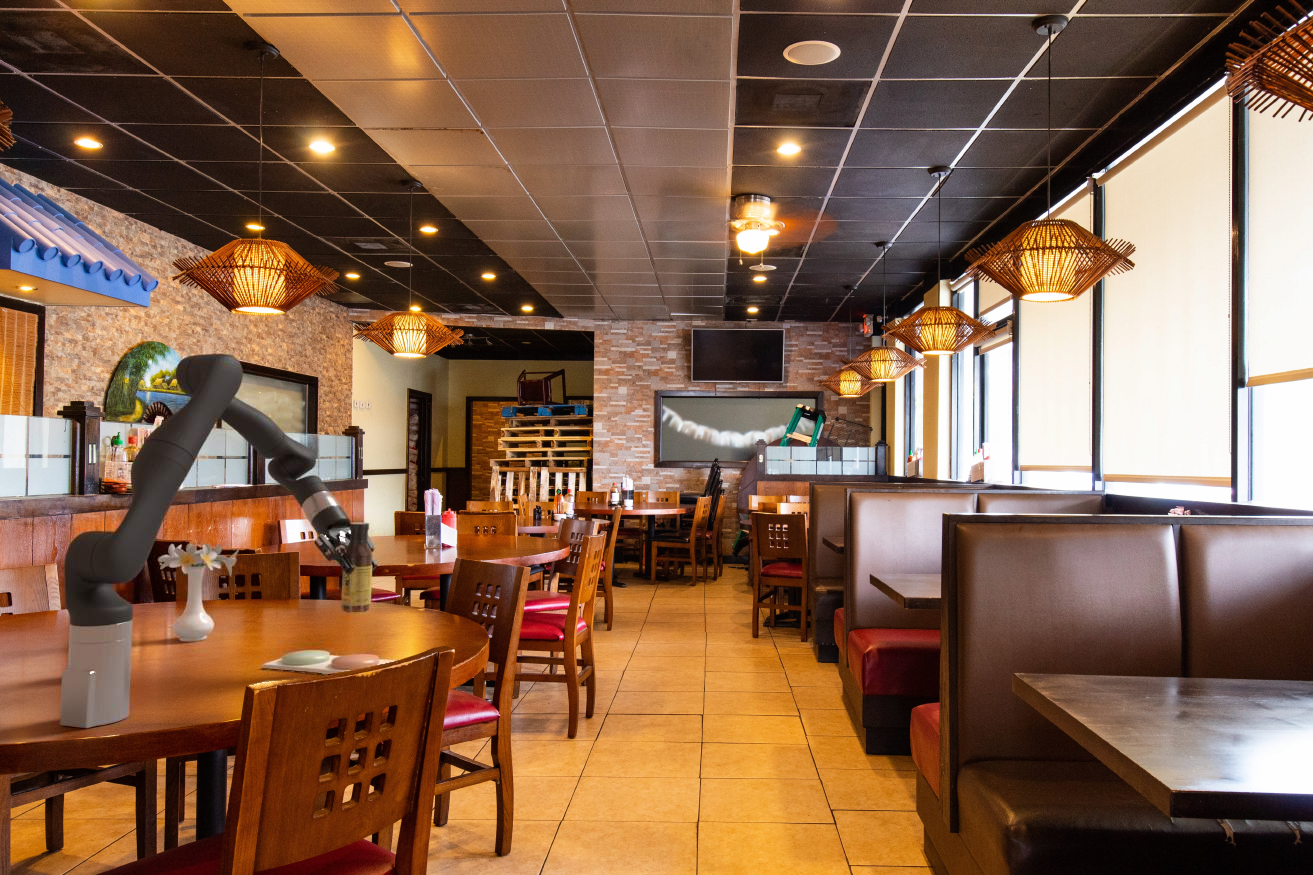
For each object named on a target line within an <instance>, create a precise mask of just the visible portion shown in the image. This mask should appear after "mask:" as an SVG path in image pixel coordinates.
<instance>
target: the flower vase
mask: <svg viewBox="0 0 1313 875" xmlns="http://www.w3.org/2000/svg"><path fill="white" fill-rule="evenodd" d="M182 546H183V545H182V544H180V545H178V546H176V547H175V544H173V543H171V544H170V545H169V546H168V554H164V555H163V554H162V555H161V556H160V557H159V558H158V559H157V561H158V562H160V563H162V564H161V566H160V568H159V569H160V570H163V569H164V568H165V567H167V566H168V567H169V568H173V569H174V568H178V567H181V571H182V572H183V574H184V575H186V574H187V577H188V591H187V601H186V605H185V609H184V611H183V612H182V614H181V615H180V616H179V617H178V618H177V620H175V621H174V623H173V625H172V631H173V632H174V634H175V635H176V636H178V637H179V641H180V642H187V643H191V642H192V643H193V642H199V641H200V642H201V641H204V640H206V639H207V638H208V636H207V635H208V634H210V633H211V632H212V631H213V629H214V628H215V623H214V620H213V619H212V617H211V616H210V615H209V614H208V613H207V612H206V610H205V608H204V605H203V596H202V595H203V594H202V590H203V588H202V584H203V583H202V582H203V576H204V571H205V569H206V567H207V568H208V569H209V570H210V571H213V570H214V568H217V569H222V563H224V564H225V567H226V569H227V570H228V573H229V576H230V578H231V577H232V572H233V569H232V567H234V566H235V564H236V563H237V558H236V557H237V554H238V553H239V551H240V549H239V548H238V549H237V550H236V551H235V552H234V553H232V555H231V556H230V557H227V556H225V555H223V554H221V552H222V551H223V547H222V545H221V544H217V545H215V546H214V547H213V548H212V546H211V544H209V543H208V542H207V543H205V544H203V545H202V549H199V550H197V549H198V548H197V545H195V544H194V545H193V543H187V545H186V547H185V550H186V551H184V550H183V549H182Z"/></svg>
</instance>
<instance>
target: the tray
mask: <svg viewBox="0 0 1313 875" xmlns="http://www.w3.org/2000/svg"><path fill="white" fill-rule="evenodd" d="M394 661H396V662H397V660H394V659H385V658H383V659H380V657H379V656H378V655H375V654H369V653H355V654H345V655H333V654H330V651H326V650H323V649H322V650H319V649H316V650H315V649H310V650H298V651H291V652H288V653H285V654H283V655H282V656H281V658H278V659H276V660H272V661H268V662H266V663H263V664H262V669H263V668H271V669H272V668H273V669H282V670H281V671H283V669H284V670H297V671H309V672H318V673H322V674H321V675H328V674H331V673H337V672H344V671H350V670H355V669H359V668H364V667H370V666H375V665H380V664H385V663H389V662H394ZM271 669H270V670H271Z"/></svg>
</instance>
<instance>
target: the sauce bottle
mask: <svg viewBox="0 0 1313 875" xmlns="http://www.w3.org/2000/svg"><path fill="white" fill-rule="evenodd" d="M369 529H370V523H369V522H365V521H364V522H362V521H360V522H359V521H357V522H356V521H355V522H351V523H350V530H351V532H350V542H349V545H348V548H347V550H345V556H347V557H348V558H349V560H350V561H351V563H352V564H353V565H354V567H355V569H354V570H353V572H352V573H351V574H346V572H345V571H344V570H343V569H342V580H341V602H340V603H341V610H342V612H346V613H364V612H367V611H369V610H370V608H371V602H372V582H373V581H372V580H373V571H372V556H373V552H372V551H371V548H370V547H369V545H368V544H367V542H368V536H369V535H368V534H369Z"/></svg>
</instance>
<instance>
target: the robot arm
mask: <svg viewBox="0 0 1313 875" xmlns="http://www.w3.org/2000/svg"><path fill="white" fill-rule="evenodd" d="M243 376H244V372H243V367H242V364H241V362H240V361H239V360H238V359H237V358H236V356H233V355H231V354H227V353H206V354H205V353H204V354H194V355H189V356H186V357H183V358H182V359H181V360H180V361H179V362H178V363H177V366H176V369H175V380H176V382H177V385H178V386H179V388H180V390H182V392H183V393H184V394H185V395H187V396H188V397H189V398H190V399H189V400H188V401H187V403H186V404H184V406H182V408H180V409H179V410H178V411H176V412H175V413H173V415H171V416H170V417H168V418H167V419H165V421H163V422H162V423H161V424H159V425H158V426H157V427H156V428H155V429H154V430H153V431H152V432H151V433H150V434H149V435H148V436H147V438H146V439H145V441H144V442H143V443H142V445H141V447H140V449H139V451H138V452H137V454H136V455H135V458H134V459H133V461H132V464H131V467H130V486H131V502H130V505H129V508H128V510H127V512H126V514H125V515H124V518H122V519H123V520H122V521H121V522H120V524H119V525H118V527H117V528H116V529H115V530H114V531H113V530H112V531H110V530H108V531H107V530H91V531H84V532H82V533H80V534H78V535H76V536H75V537H74V538H73V539H72V541H71V542H70V543H69V545H68V548H67V551H66V553H65V558H64V604H65V608H66V610H67V612H68V615H69V636H68V637H69V638H68V640H69V641H68V656H67V657H68V659H67V662H68V663H67V668H64V669H63V670H62V671H61V692H60V693H61V694H60V712H59V713H60V714H59V715H60V717H59V718H60V719H59V726H65V727H75V728H82V729H89V728H92V727H96V726H97V727H99V726H104V725H108V724H113V723H116V722H119V721H122V720H125V719H126V718H128V717H129V716H130V696H131V695H130V693H131V690H130V689H131V669H132V668H131V667H132V642H133V622H134V621H133V620H134V619H133V617H134V616H133V614H134V613H133V612H134V611H133V610H134V608H133V605H132V603H131V602H129V601H127V599H124V598H123V597H122V596H120V595H119V594H118V593H117V592H116V590H115V587H114V585H118V584H119V585H121V584H126V583H128V582H130V581H132V580H133V579H135V578H136V577H137V576H138V574H140V572H141V571H142V570H143V568H144V567H145V565H146V562H147V560H148V558H149V555H150V554H151V551H152V548H153V547H154V543H155V541H156V539H157V537H158V533H159V531H160V529H161V527H162V524H163V522H164V519H165V517H166V516H167V513H168V511H169V510H170V507H171V505H172V503H173V502H174V499H175V497H176V495H177V494H178V492H179V490H180V488H181V486H182V485H183V482H185V480H186V478H187V476H188V474H189V473H190V471H191V469H192V467H193V465H194V464H195V462H196V459H197V457H198V454H199V453H200V451H201V449H202V447H203V446H204V444H205V443H206V441H207V439H208V437H209V435H210V434H211V432H212V431H213V429H214V427H215V425H216V424H217V422H218V421H219V419H220V420H222V422H224V423H226V424H227V425H228V426H229V427H230V428H232V429H233V430H235V431H236V432H237V433H238V434H239V435H240V436H241V437H242V438H243V439H244V440H245V441H246V442H247V443H248V444H249V445H250V446H251V447H252V448H253V449H254V450H255V451H256V452H257V453H258V454H259V455H260V456H261V457H263V458H264V459H265V458H266V459H271V460H270V461H269V462H268V464H267V472H268V474H269V476H270V477H271V479H273V480H274V481H275V482H276V483H278V484H279V485H280V486H282V487H283V488H284V489H286V490H287V491H288V492H289V493H290V494H291V495H292V496H293V497H294V499H295V500H296V502H297V503H298V505H299V506H300V508H301V509H302V511H303V513H304V515H305V517H306V519H307V521H308V522H309V523H310V525H311V527H312V528H313V529H314V531H315V533H316V535H318V536H317V537H316V538H315V540H314V542H313V543H314V545H315V546H316V547H317V549H318V550H319V551H320V552H321V553H322V555H323V556H324V558H325V559H326V560H327V561H329V562H332V561H334V562H336V563H338V565H339V566H340V568H341V570H342V571H343V570H344V571H345V572H346V574H351V573H352V572H353V570H354V569H355V567H354V565H353V564H352V563H351V561H350V560H349V558H348V557H347V556H345V553H346V550H347V548H348V545H349V542H350V532H351V530H350V523H352V522H351V519H350V518H349V516H348V515H347V513H346V512H345V510H344V509H343V507H342V506H341V504H340V503H339V501H338V500H337V498H336V497H334V495H332V493H331V492H330V490H329V489H328V487H327V485H325V483H324V481H323V480H322V478H320V477H319V476H317V475H314V474H313V475H307V476H304V475H306V474H307V473H309V472H310V471H312V470H313V469H314V467H315V466H316V463H317V458H316V456H315V455H316V454H315V453H314V452H313V450H311V449H310V448H309V447H308V446H306V445H304V444H303V443H301V442H299V441H297V440H295V439H294V438H292V437H290V436H289V435H287V434H286V433H285V432H284V431H283V430H282V429H281V428H280V426H278V424H277V423H275V421H274V420H273V419H272V418H271V417H269V416H268V415H267V414H266V413H264V412H262V411H261V410H259V409H258V408H255V407H254V406H252V405H250V404H248V403H246V402H244V401H242V400H241V399H239V398H237V397H236V394H238V392H239V390H240V388H241V386H242V382H243V379H244V378H243ZM302 476H304V477H302ZM367 544H368V545H369V547H370V548H371V551H372V553H373V552H374V551H375V550H376V547H375V545H374V544H373V542H372V540H371V538H370V536H369V535H368V542H367ZM329 551H330V552H329ZM377 567H378V562H377V561H376V559H375V558H374V556H373V555H372V572H373V571H375V569H376V568H377Z"/></svg>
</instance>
